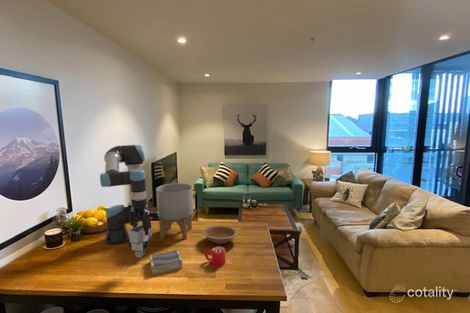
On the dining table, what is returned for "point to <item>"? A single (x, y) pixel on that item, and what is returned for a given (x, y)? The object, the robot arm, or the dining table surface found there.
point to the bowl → (220, 233)
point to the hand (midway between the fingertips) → (141, 239)
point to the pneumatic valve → (140, 248)
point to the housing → (138, 234)
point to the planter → (175, 207)
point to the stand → (165, 262)
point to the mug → (216, 256)
